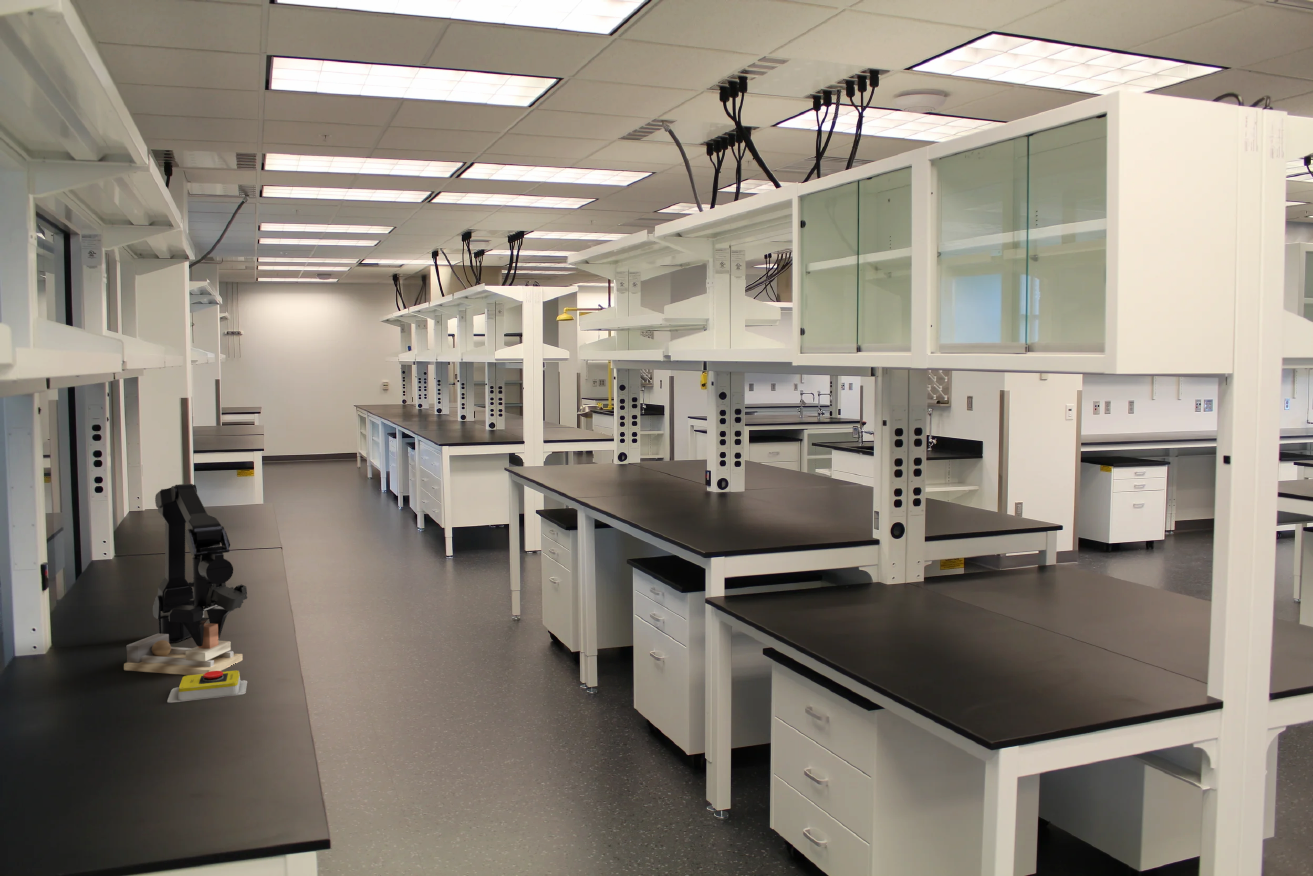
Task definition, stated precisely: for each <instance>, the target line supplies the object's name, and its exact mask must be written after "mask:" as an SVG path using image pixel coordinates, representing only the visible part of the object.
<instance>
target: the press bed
mask: <svg viewBox="0 0 1313 876" xmlns="http://www.w3.org/2000/svg"><path fill="white" fill-rule="evenodd" d="M160 640H165V641H167V642H169V634H159V632H158V633H156V634H153V635H151V636H148V637H145V638H142V639H140V640H137V641H135V642H132V643H129V644H127V645H126V662H125V663H123V670H124V671H130V672H144V673H156V674H157V673H159V674H170V675H184V676H187V675H197V674H205V673H207V672H210V671H222V672H223V671H225V670H226V669H227V668H229V667H231V665H232V666H234V665H235V663H236V664H238V663H240V662H242V661H244V660H243V653H234V651H233V650H229V651H227V652H225V653H222V654H220V655H218V656H216V657H214V658H212V659H209V660H207V661H194V660H186V651H188V650H190V649H192V648H190V647H176V646H171V651H170V653H169V654H168V655H167V656H165V657H160V656H154V655H153V653H152V646H153V645H154V644H155V643H156V642H157V641H160ZM169 643H170V642H169ZM233 664H234V665H233Z"/></svg>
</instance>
